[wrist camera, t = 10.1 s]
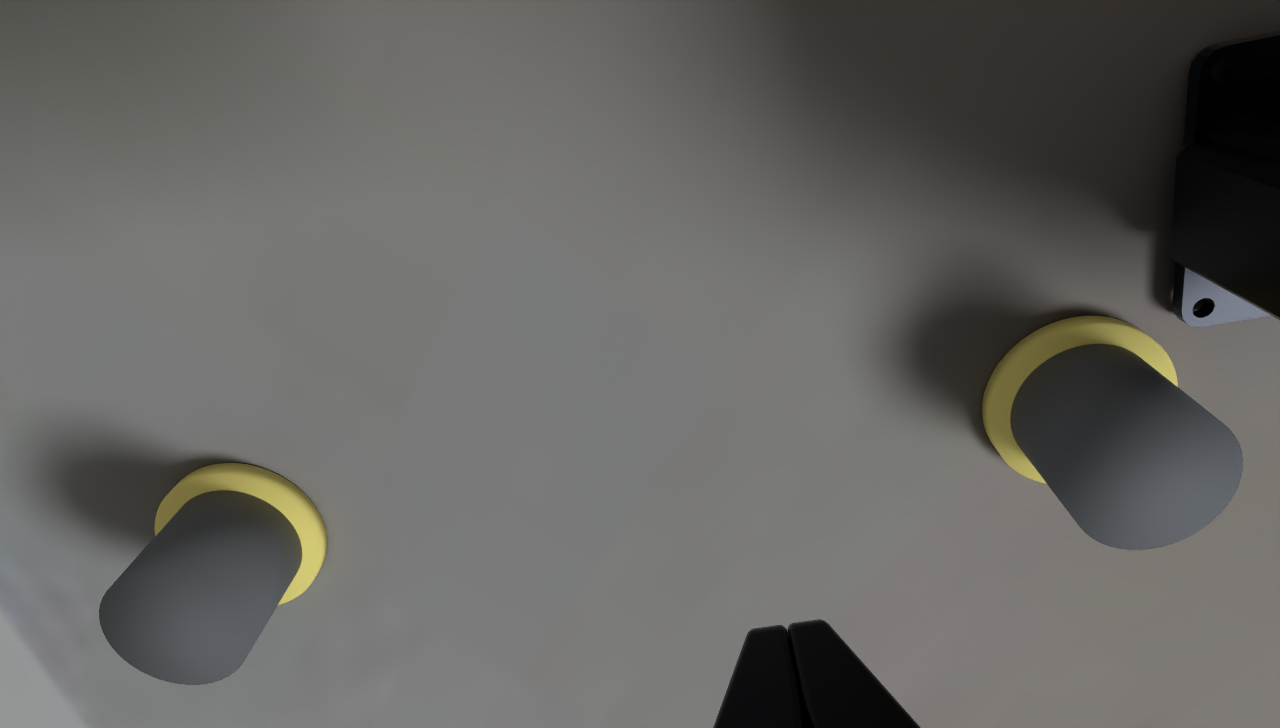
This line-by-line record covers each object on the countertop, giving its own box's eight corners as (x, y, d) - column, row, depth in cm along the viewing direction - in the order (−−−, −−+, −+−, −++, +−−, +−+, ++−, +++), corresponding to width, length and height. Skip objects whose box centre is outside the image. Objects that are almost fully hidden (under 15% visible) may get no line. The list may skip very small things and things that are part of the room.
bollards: (1170, 300, 21) (1279, 370, 17) (1159, 458, 22) (1255, 551, 19) (138, 477, 23) (42, 569, 20) (205, 604, 25) (130, 709, 22)
